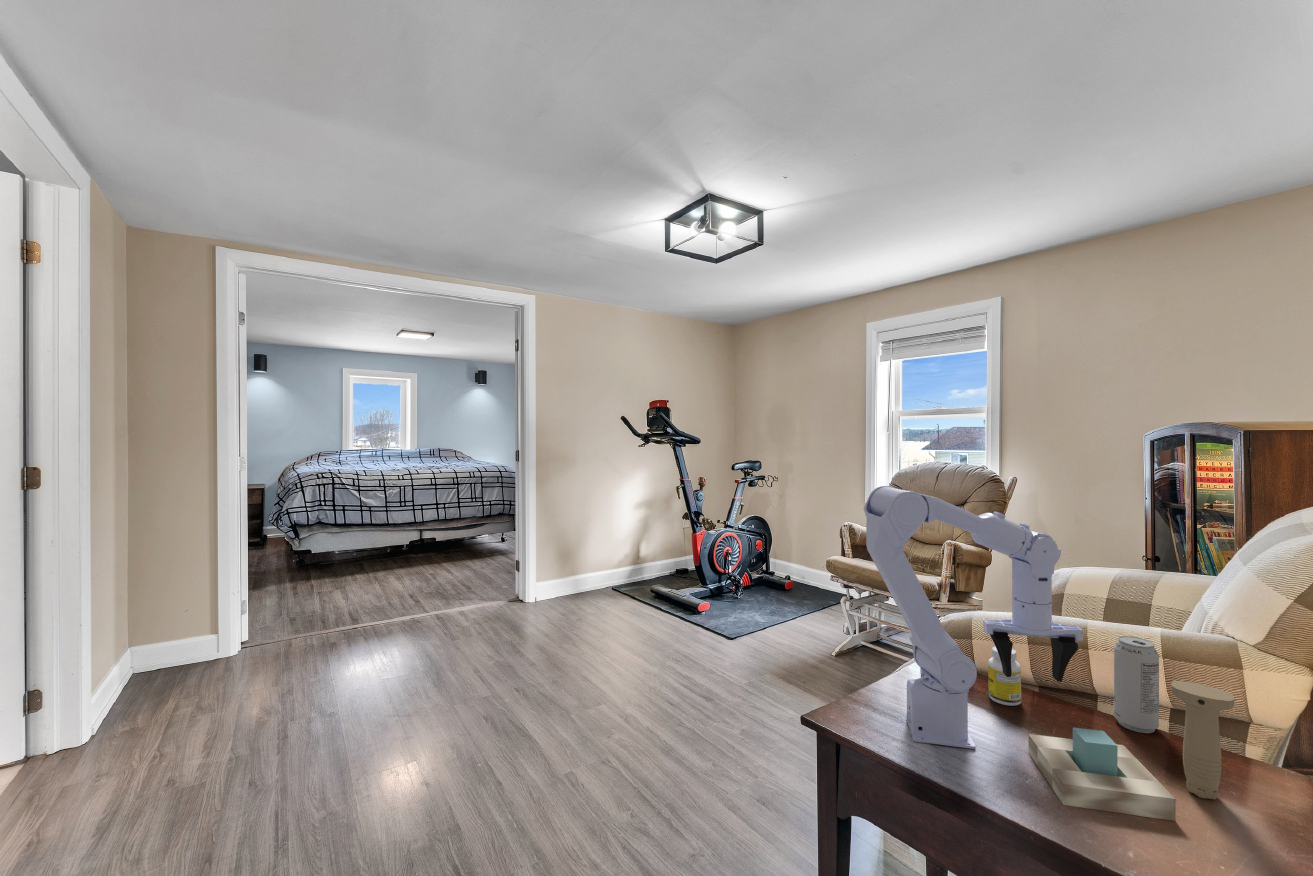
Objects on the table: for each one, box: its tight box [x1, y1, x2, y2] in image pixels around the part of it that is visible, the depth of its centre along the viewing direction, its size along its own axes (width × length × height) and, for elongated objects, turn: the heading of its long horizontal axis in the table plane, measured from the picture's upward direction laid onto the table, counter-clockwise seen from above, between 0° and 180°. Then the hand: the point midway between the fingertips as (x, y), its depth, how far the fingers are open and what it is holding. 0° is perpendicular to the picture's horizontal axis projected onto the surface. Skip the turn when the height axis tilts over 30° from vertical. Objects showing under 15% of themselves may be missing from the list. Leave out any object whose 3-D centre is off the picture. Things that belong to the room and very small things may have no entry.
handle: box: [1171, 680, 1235, 801], centre depth 80 cm, size 5×6×15 cm
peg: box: [1072, 727, 1118, 777], centre depth 83 cm, size 4×4×7 cm
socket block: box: [1028, 733, 1177, 822], centre depth 83 cm, size 13×13×3 cm
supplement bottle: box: [987, 645, 1022, 707], centre depth 108 cm, size 5×5×10 cm
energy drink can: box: [1113, 635, 1160, 734], centre depth 98 cm, size 6×6×15 cm
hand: (1031, 677), depth 97 cm, fingers open, 7 cm apart
